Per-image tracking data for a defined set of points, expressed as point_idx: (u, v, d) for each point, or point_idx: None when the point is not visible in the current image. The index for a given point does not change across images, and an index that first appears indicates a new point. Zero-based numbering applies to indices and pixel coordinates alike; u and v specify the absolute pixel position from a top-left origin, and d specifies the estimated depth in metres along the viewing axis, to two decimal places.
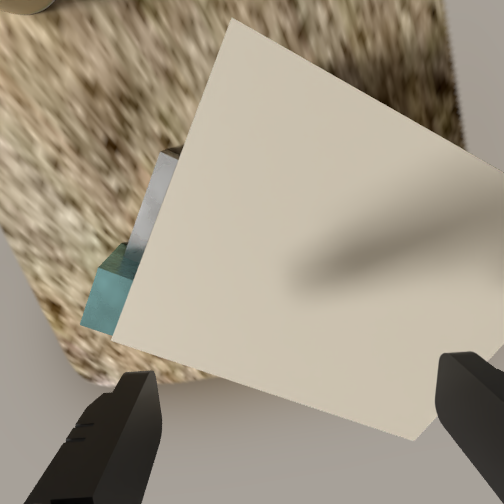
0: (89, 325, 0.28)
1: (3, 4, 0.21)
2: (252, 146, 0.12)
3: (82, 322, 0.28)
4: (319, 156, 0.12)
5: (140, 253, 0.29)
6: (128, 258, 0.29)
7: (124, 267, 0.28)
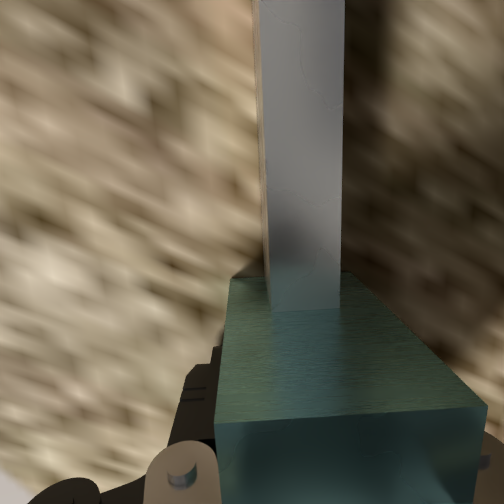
0: None
1: None
2: None
3: None
4: None
5: (331, 266, 0.07)
6: (289, 308, 0.07)
7: (318, 354, 0.05)
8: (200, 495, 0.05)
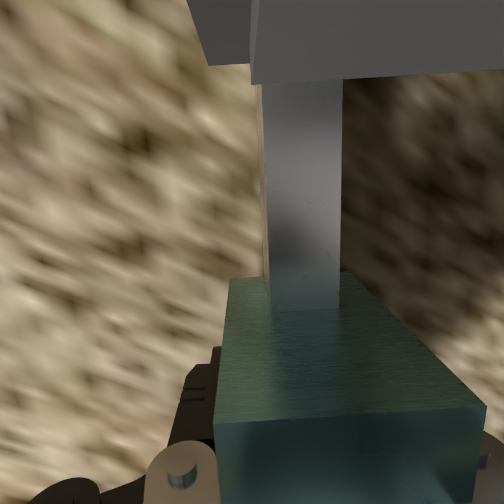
0: None
1: None
2: None
3: None
4: None
5: (331, 266, 0.07)
6: (288, 309, 0.07)
7: (318, 355, 0.05)
8: (200, 496, 0.05)
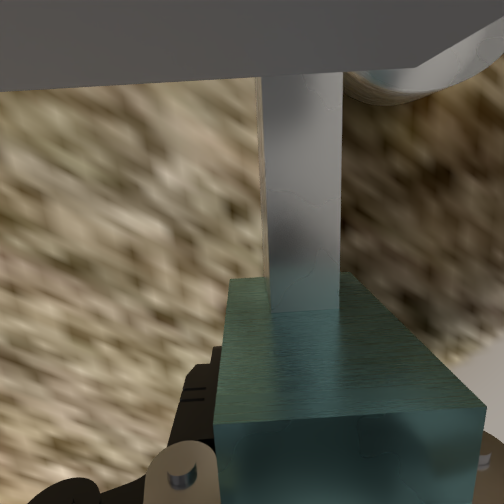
0: None
1: None
2: None
3: None
4: None
5: (331, 266, 0.07)
6: (288, 309, 0.07)
7: (318, 355, 0.05)
8: (200, 495, 0.05)
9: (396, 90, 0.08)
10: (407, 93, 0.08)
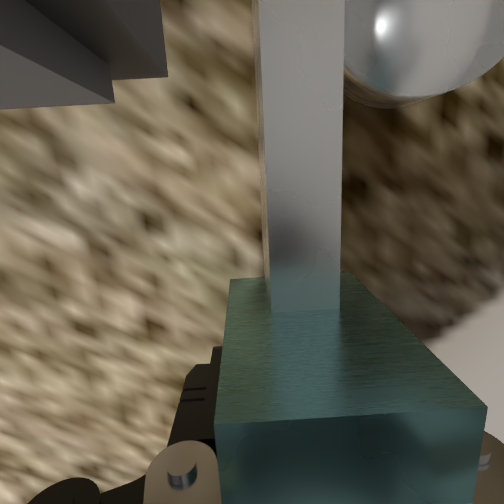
0: None
1: None
2: None
3: None
4: None
5: (331, 266, 0.07)
6: (289, 309, 0.07)
7: (318, 355, 0.05)
8: (200, 495, 0.05)
9: (395, 94, 0.08)
10: (406, 97, 0.08)
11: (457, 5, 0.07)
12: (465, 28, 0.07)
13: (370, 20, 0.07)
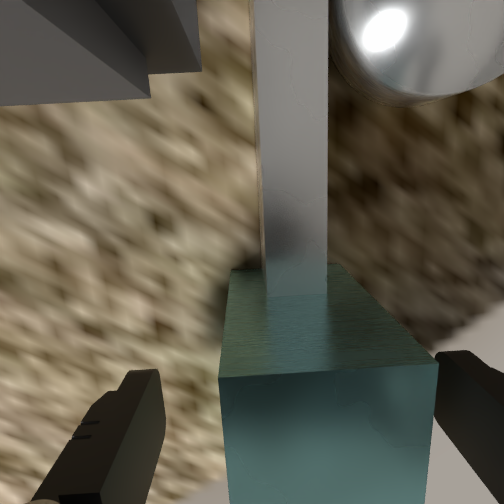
0: None
1: None
2: None
3: None
4: None
5: (319, 256, 0.08)
6: (282, 294, 0.08)
7: (305, 328, 0.06)
8: None
9: (413, 93, 0.08)
10: (424, 96, 0.08)
11: (478, 3, 0.07)
12: (486, 26, 0.07)
13: (390, 17, 0.07)
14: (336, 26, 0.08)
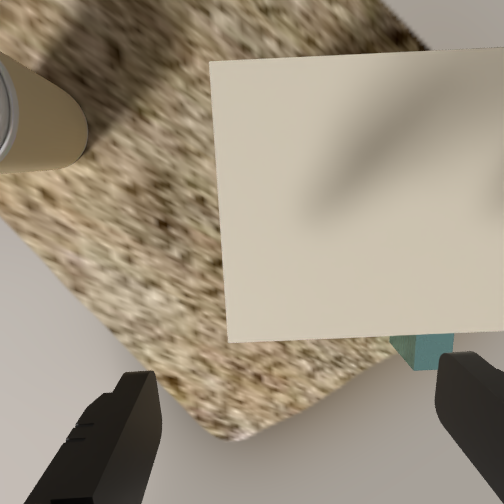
0: (422, 367, 0.31)
1: (58, 162, 0.28)
2: (262, 136, 0.15)
3: (415, 367, 0.31)
4: (314, 117, 0.15)
5: None
6: None
7: None
8: None
9: None
10: None
11: None
12: None
13: None
14: None
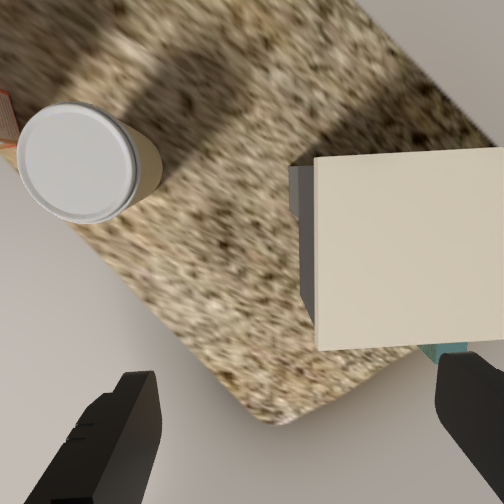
0: None
1: None
2: (352, 207, 0.21)
3: (436, 361, 0.37)
4: (389, 193, 0.21)
5: None
6: None
7: None
8: None
9: None
10: None
11: None
12: None
13: None
14: None
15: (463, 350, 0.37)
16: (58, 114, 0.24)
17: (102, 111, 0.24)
